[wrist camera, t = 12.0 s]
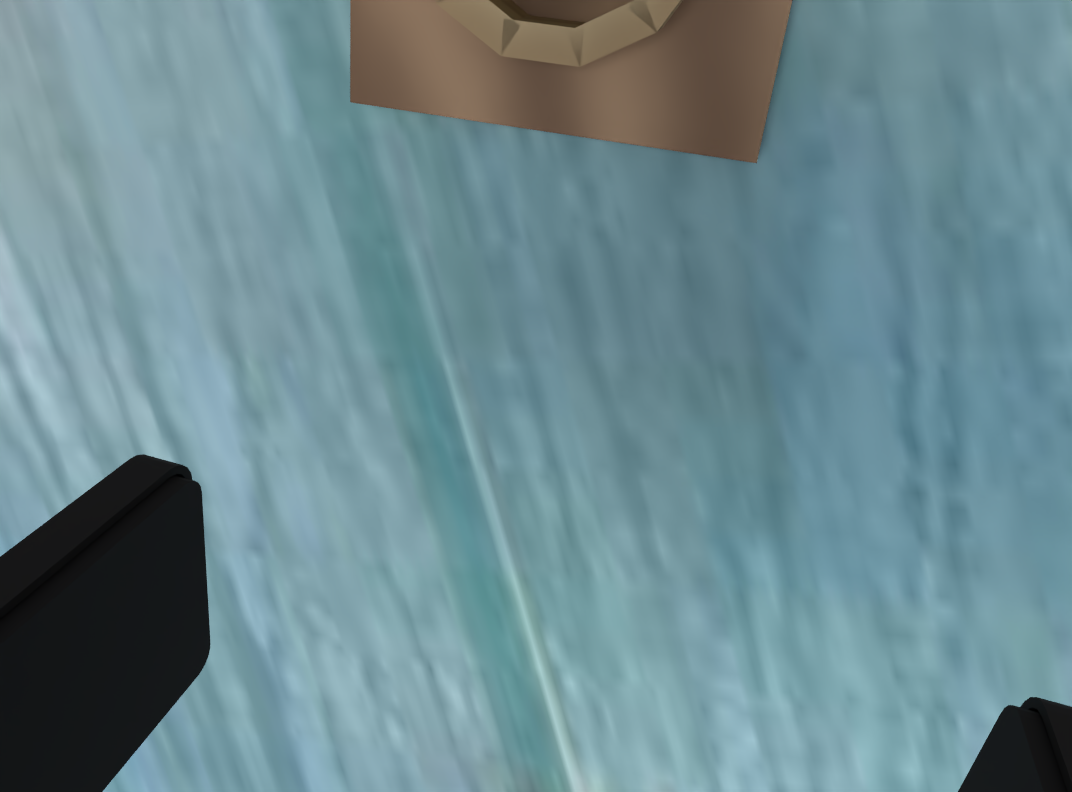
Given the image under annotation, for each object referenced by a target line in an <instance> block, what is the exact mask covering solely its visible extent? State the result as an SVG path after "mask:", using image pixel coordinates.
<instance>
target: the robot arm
mask: <svg viewBox="0 0 1072 792" xmlns="http://www.w3.org/2000/svg"><path fill="white" fill-rule="evenodd" d="M209 650H210V629H209V611H208V594H207V576H206V559H205V541H204V523H203V506H202V491H201V487H200V485H199V483H198V482H196V481H193V480H192V476H191V472H190V471H189V469H188V468H187V467H185V466H183V465H180V464H177V463H173V462H169V461H166V460H162V459H158V458H154V457H151V456H147V455H136V456H135V457H133V458H131V459H129V460H128V461H127V462H125V463H124V464H123V465H121V466H120V467H119V468H117V469H116V470H115V471H113V472H112V473H111V474H109V475H108V476H107V477H105V478H104V479H103V480H101V481H100V482H99V483H97V484H96V485H95V486H93V487H92V488H91V489H89V490H88V491H87V492H85V493H84V494H83V495H82V496H80V497H79V498H78V499H76V500H75V501H74V502H72V503H71V504H70V505H68V506H67V507H66V508H64V509H63V510H62V511H60V512H59V513H58V514H56V515H55V516H54V517H52V518H51V519H50V520H48V521H47V522H46V523H44V524H43V525H42V526H40V527H39V528H38V529H36V530H35V531H34V532H32V533H31V534H30V535H28V536H27V537H26V538H25V539H23V540H22V541H21V542H19V543H18V544H17V545H15V546H14V547H13V548H11V549H10V550H9V551H7V552H6V553H5V554H3V555H2V556H1V557H0V792H102V791H103V790H104V789H105V788H106V786H107V785H108V784H109V783H110V782H111V780H112V779H113V778H114V777H115V776H116V774H117V773H118V772H119V771H120V770H121V768H122V767H123V766H124V765H125V763H126V762H127V761H128V760H129V759H130V757H131V756H132V755H133V754H134V753H135V751H136V750H137V749H138V748H139V746H140V745H141V744H142V743H143V742H144V740H145V739H146V738H147V737H148V736H149V734H150V733H151V732H152V731H153V730H154V728H155V727H156V726H157V725H158V723H159V722H160V721H161V720H162V719H163V717H164V716H165V715H166V714H167V713H168V711H169V710H170V709H171V708H172V706H173V705H174V704H175V703H176V702H177V700H178V699H179V698H180V697H181V696H182V694H183V693H184V692H185V691H186V690H187V688H188V687H189V686H190V685H191V683H192V682H193V681H194V680H195V679H196V677H197V676H198V675H199V673H200V672H201V671H202V669H203V667H204V665H205V663H206V660H207V658H208V655H209ZM958 792H1072V707H1070V706H1067V705H1063V704H1059V703H1056V702H1052V701H1048V700H1044V699H1041V698H1037V697H1030V698H1029V699H1027V700H1026V701H1025V702H1024V703H1023V704H1022V706H1021V707H1017V706H1013V705H1008V706H1007V707H1005V708H1004V710H1003V711H1002V712H1001V714H1000V716H999V717H998V719H997V721H996V723H995V725H994V727H993V728H992V730H991V732H990V734H989V736H988V738H987V740H986V741H985V743H984V745H983V747H982V749H981V751H980V752H979V754H978V756H977V758H976V760H975V762H974V763H973V765H972V767H971V769H970V771H969V773H968V774H967V776H966V778H965V780H964V782H963V784H962V785H961V787H960V789H959V791H958Z"/></svg>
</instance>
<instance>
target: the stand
mask: <svg viewBox="0 0 1072 792" xmlns="http://www.w3.org/2000/svg"><path fill="white" fill-rule="evenodd" d="M791 4H792V0H351V53H350V102H353V103H359V104H366V105H373V106H379V107H386V108H393V109H399V110H406V111H413V112H419V113H426V114H433V115H439V116H446V117H453V118H459V119H466V120H473V121H479V122H486V123H493V124H499V125H506V126H513V127H519V128H526V129H533V130H540V131H546V132H553V133H560V134H566V135H573V136H580V137H586V138H593V139H600V140H606V141H613V142H620V143H626V144H633V145H640V146H646V147H653V148H660V149H666V150H673V151H680V152H686V153H693V154H700V155H706V156H713V157H720V158H726V159H733V160H740V161H746V162H753V163H757V159H758V154H759V150H760V145H761V140H762V136H763V131H764V127H765V122H766V118H767V113H768V109H769V104H770V99H771V95H772V90H773V86H774V81H775V77H776V72H777V68H778V63H779V59H780V54H781V49H782V45H783V40H784V36H785V31H786V27H787V22H788V18H789V13H790V8H791Z"/></svg>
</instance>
